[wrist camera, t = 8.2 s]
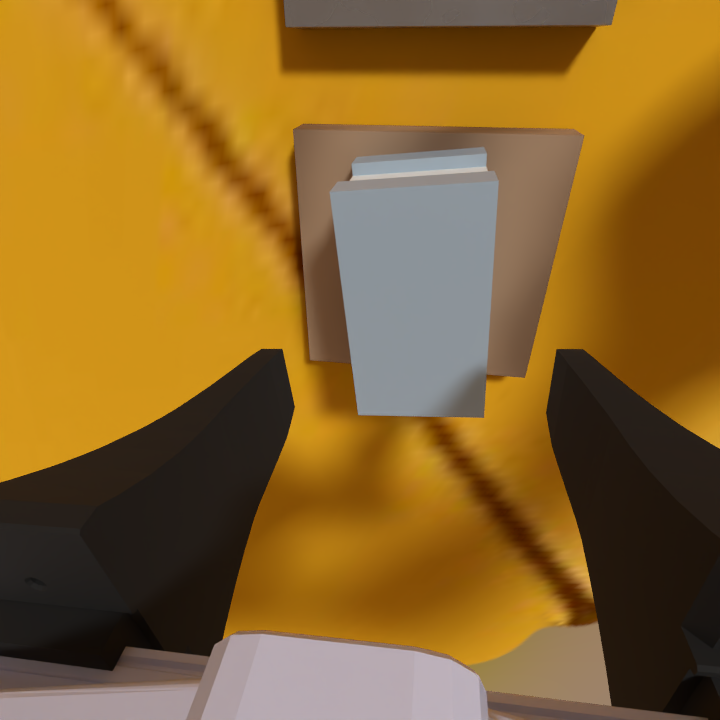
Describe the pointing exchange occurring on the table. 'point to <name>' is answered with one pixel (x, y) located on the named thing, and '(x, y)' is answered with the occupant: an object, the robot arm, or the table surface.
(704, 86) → the table surface
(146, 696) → the robot arm
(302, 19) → the stand
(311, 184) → the stand
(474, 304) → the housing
